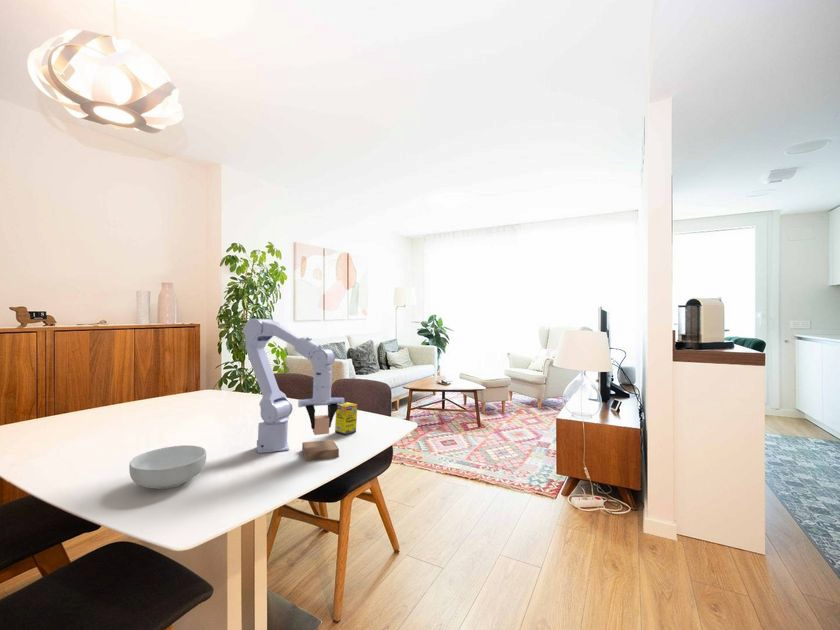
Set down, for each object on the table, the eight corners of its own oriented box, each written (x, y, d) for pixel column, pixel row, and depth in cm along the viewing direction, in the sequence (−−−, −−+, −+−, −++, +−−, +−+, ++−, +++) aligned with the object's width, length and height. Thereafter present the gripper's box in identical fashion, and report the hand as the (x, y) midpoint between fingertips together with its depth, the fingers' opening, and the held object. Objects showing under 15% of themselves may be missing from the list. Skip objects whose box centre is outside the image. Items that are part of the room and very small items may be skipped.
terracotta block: (314, 435, 119) (315, 419, 120) (312, 431, 124) (313, 415, 124) (328, 433, 121) (329, 418, 121) (326, 429, 125) (327, 414, 125)
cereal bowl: (123, 481, 98) (124, 454, 98) (195, 465, 110) (196, 441, 110) (134, 505, 86) (135, 474, 86) (213, 484, 98) (214, 457, 98)
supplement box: (345, 435, 142) (346, 406, 142) (334, 432, 145) (335, 404, 145) (356, 432, 146) (357, 404, 147) (346, 429, 150) (347, 401, 150)
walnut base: (306, 460, 116) (306, 452, 116) (302, 450, 125) (302, 442, 125) (338, 456, 120) (338, 448, 120) (332, 446, 129) (332, 439, 129)
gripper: (300, 389, 116) (299, 433, 116) (347, 386, 122) (345, 429, 122) (298, 385, 122) (296, 427, 122) (342, 383, 128) (341, 423, 128)
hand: (320, 427), depth 122 cm, fingers closed on terracotta block, 4 cm apart
